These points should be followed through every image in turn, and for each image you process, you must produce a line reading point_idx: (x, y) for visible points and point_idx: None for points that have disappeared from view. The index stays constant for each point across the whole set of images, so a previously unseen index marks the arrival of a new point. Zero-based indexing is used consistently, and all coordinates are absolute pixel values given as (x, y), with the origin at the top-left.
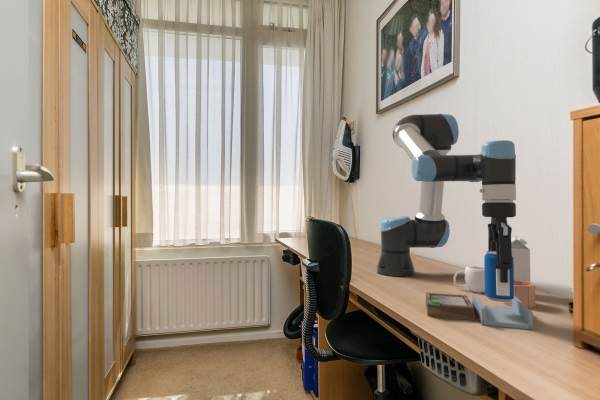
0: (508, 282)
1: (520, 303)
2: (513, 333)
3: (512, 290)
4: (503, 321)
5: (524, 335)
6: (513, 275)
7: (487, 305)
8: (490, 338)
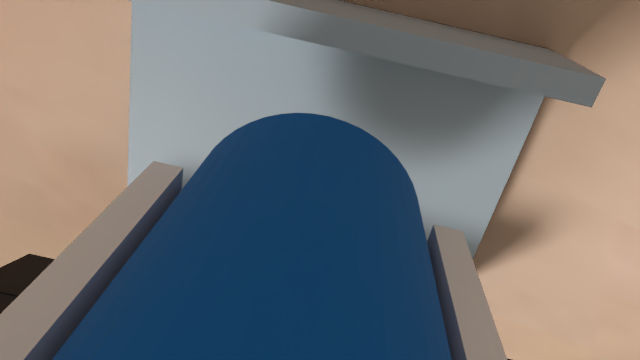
0: (491, 336)
1: (338, 41)
2: (591, 195)
3: (402, 196)
4: (473, 203)
5: (631, 153)
6: (386, 279)
7: (136, 152)
8: (635, 325)
